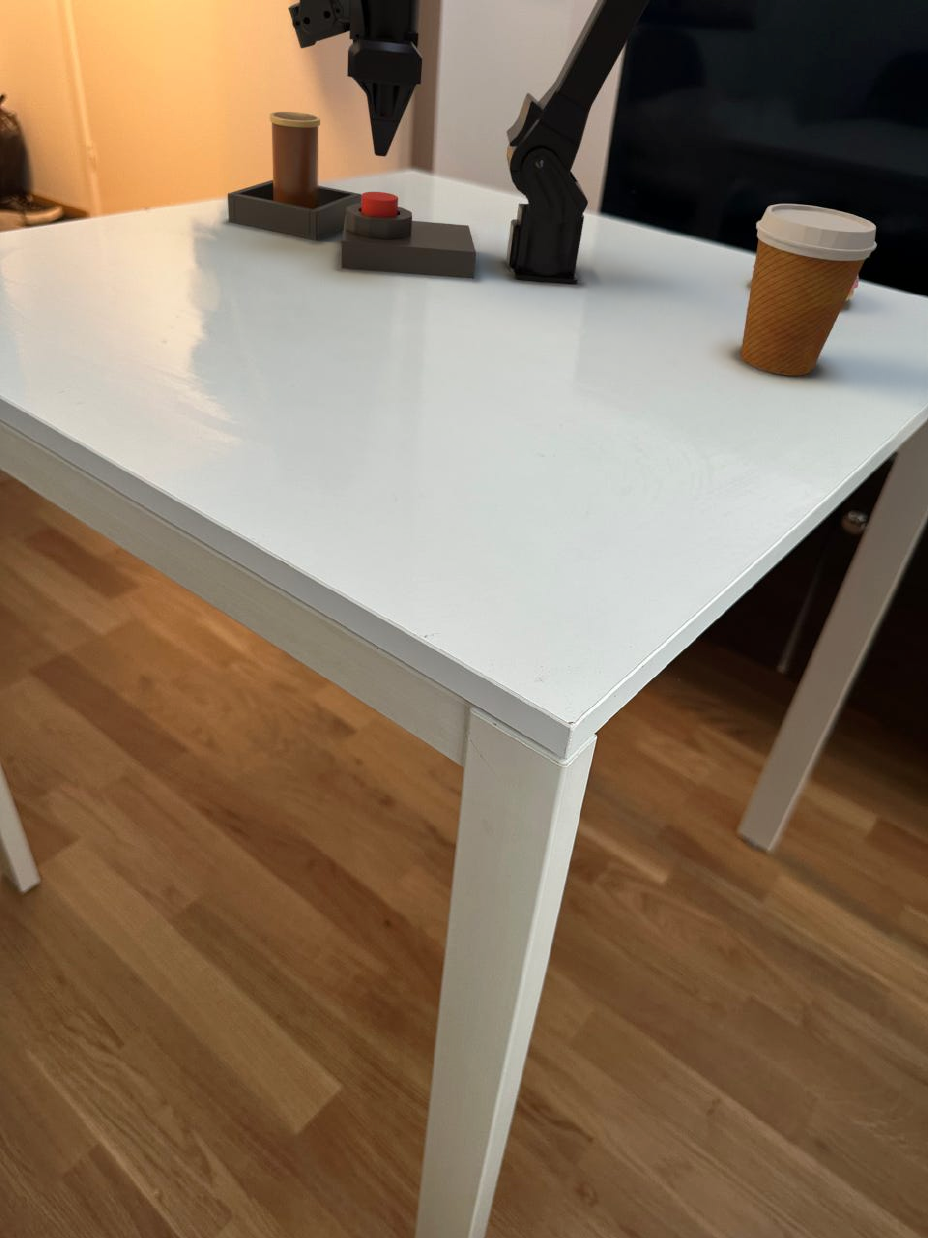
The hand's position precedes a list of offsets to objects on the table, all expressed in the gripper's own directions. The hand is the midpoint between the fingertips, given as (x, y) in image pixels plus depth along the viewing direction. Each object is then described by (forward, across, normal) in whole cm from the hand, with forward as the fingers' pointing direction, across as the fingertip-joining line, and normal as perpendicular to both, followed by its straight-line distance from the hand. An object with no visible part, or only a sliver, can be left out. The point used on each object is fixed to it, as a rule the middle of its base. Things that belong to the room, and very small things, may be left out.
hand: (380, 155), depth 89 cm
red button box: (+10, 0, +3) cm, 10 cm away
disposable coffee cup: (+10, +22, +35) cm, 43 cm away
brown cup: (+9, -11, -9) cm, 17 cm away
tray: (+10, -11, -9) cm, 17 cm away
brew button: (+5, 0, 0) cm, 5 cm away
